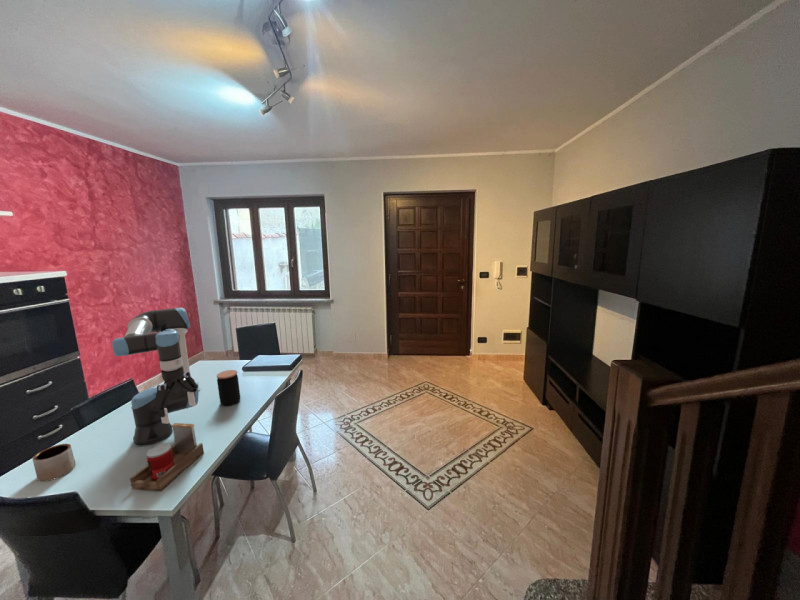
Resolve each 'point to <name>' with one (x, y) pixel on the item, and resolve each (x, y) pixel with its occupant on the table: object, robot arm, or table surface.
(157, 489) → the tray
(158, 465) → the canned food
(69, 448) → the planter
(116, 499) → the table surface
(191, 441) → the pusher
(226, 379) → the coffee jar
